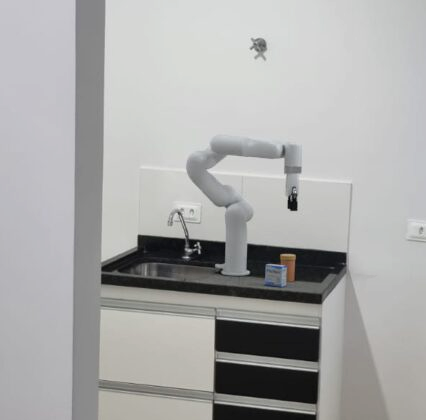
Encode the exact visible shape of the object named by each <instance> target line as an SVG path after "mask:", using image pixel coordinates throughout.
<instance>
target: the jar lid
mask: <svg viewBox="0 0 426 420" xmlns="http://www.w3.org/2000/svg"><path fill="white" fill-rule="evenodd" d="M279 255H280V256H279V259H280V261H281V260H295V261H296V260H297V256H296V254H293V253H281V254H279Z"/></svg>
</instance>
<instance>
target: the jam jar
mask: <svg viewBox="0 0 426 420" xmlns="http://www.w3.org/2000/svg"><path fill="white" fill-rule="evenodd" d="M280 265H285V266H287V274H286V283H289V282H294V281H295V276H296V275H295V274H296V270H295V269H296V259H295V260H281V259H280Z"/></svg>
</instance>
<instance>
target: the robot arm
mask: <svg viewBox="0 0 426 420" xmlns="http://www.w3.org/2000/svg"><path fill="white" fill-rule="evenodd" d="M227 156H235V157H244V158H258V159H268V160H277V159H283V164H284V165H283V175H286V176H285V190H284V192H285V193H284V195H285V196H286V197H287V207H286V208H287V210H289V212H297V211H298V210H299V209H298V208H299V207H298V204H299V202H298V197H299V194H300V193H299V192H300V191H299V190H300V188H299V187H300V175H302V174H303V173H302V167H303V165H302V164H303V163H302V162H303V160H302V158H303V146H302V143H301V142H299V141H298V142H297V141H287V142H285V141H278V140H277V141H275V140H274V141H273V140H261V139H252V138H249V137H246V136H236V135H228V134H217V135H214V136H212V138H211V139H210V142H209V146H208V147H207V148H205V149H204V150H196V151H193V152H191V153H190V154H189V155H188V157H187V159H186V164H185V170H186V175H187V176H188V178H189V179H190V181H191V182H192V183H193V184H194V185H195V186H196V187H197V188H198V189H199V190H200V192H202V194H203V195H204V196H205V197H207V199H209V201H210V202H211V203H212V204H213V205H214V206H216V207H218V208H225V213H224V223H225V249H224V250H225V252H224V254H225V255H224V263H222V264H220V263H215V265H214V269H217V270H221V272H220V274H221V275H223V276H230V277H244V276H249V275H250V274H251V271H250V270H248V269H247V263H248V262H247V261H248V260H247V258H248V225H247V223H248V222H250V221H251V220H252V219H253V217H254V212H255V211H254V208H253V206H252V204H251V203H250V202H249V201H248V200H247V198H245V197H244V196H243V195H242V194H241V193H240V192H239V191H238V190H237V189H236V188H235V187H233V186H232V185H229V184H222V182H220V181H219V180H218V179H217V178H216V177H215V176H214V175H213V174H212V173H210V172H209V171H208V170H210V169H212V168H214V167H215V166H216V165H218V164H219V163H220V162H222V161H223V160H224V159H225V158H226V157H227Z"/></svg>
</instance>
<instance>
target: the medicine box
mask: <svg viewBox="0 0 426 420" xmlns="http://www.w3.org/2000/svg"><path fill="white" fill-rule="evenodd" d="M286 274H287V266H285V265H281V264H277V263H276V264H274V263H267V264H265V275H264V286H266V287H268V286H269V287H277V288H283V287H286V286H287V281H286Z"/></svg>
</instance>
